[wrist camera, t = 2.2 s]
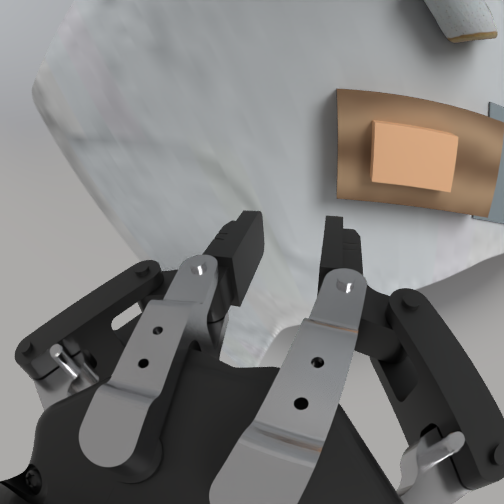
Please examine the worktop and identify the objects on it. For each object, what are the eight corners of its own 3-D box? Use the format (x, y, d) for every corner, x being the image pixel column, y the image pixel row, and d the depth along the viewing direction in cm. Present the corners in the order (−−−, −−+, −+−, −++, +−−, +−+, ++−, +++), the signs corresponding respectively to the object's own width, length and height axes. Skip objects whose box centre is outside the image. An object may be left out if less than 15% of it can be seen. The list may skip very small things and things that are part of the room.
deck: (336, 88, 25) (337, 88, 22) (488, 116, 19) (504, 122, 16) (336, 185, 32) (336, 198, 29) (475, 203, 26) (487, 217, 23)
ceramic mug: (440, 48, 17) (469, 40, 11) (405, -11, 14) (423, -33, 8) (498, 38, 12) (531, 35, 6) (467, -17, 9) (493, -32, 3)
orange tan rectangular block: (372, 120, 23) (374, 122, 21) (451, 133, 20) (458, 137, 19) (369, 175, 26) (371, 181, 24) (444, 185, 23) (450, 192, 22)
